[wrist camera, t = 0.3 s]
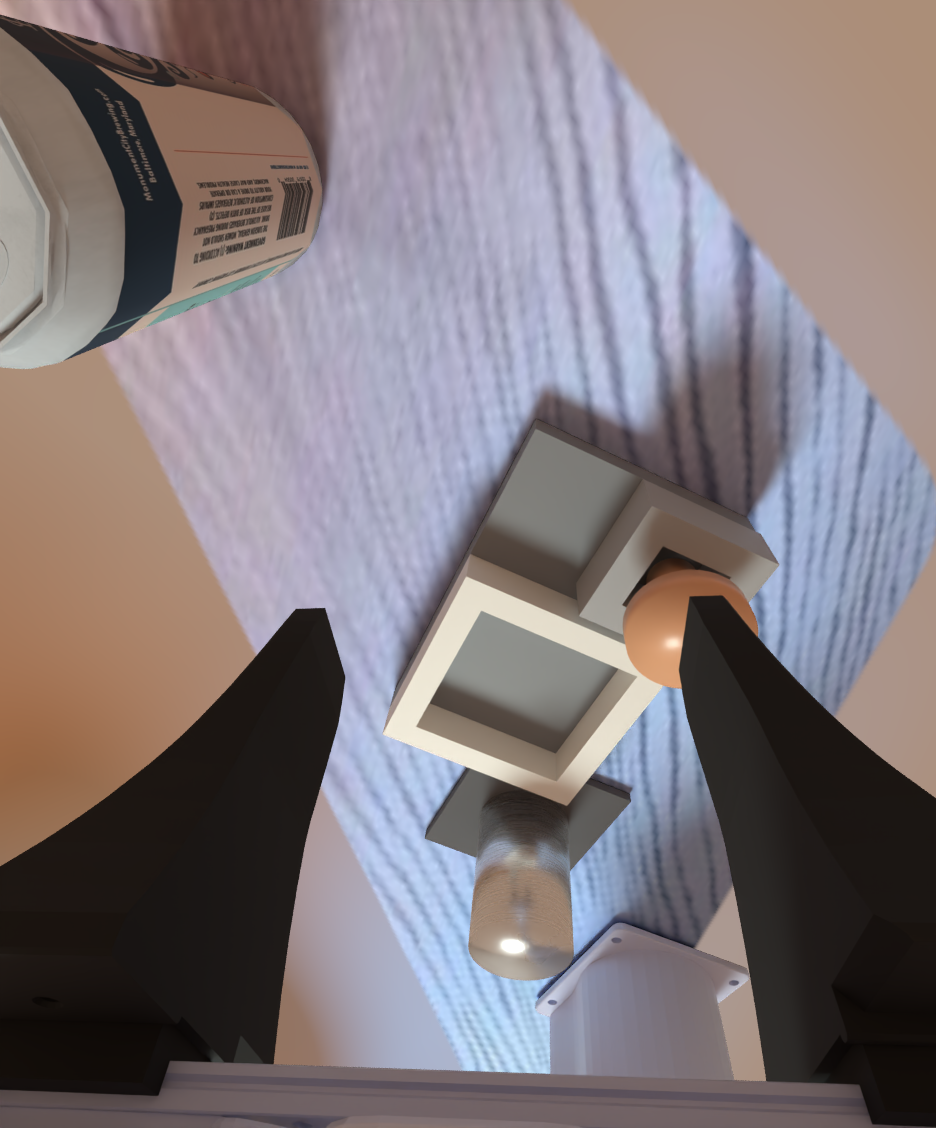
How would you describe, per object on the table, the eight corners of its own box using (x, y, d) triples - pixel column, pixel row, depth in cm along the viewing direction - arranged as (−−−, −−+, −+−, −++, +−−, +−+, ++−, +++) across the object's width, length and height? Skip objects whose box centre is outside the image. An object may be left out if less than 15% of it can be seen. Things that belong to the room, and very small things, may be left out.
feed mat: (555, 879, 34) (556, 886, 33) (425, 831, 33) (424, 838, 32) (629, 794, 30) (630, 801, 30) (487, 737, 29) (486, 744, 29)
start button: (688, 640, 23) (708, 705, 20) (594, 599, 22) (601, 659, 20) (753, 558, 21) (786, 616, 18) (653, 511, 21) (670, 564, 18)
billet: (542, 859, 32) (543, 991, 27) (466, 830, 32) (452, 959, 27) (583, 809, 30) (592, 941, 25) (503, 778, 30) (495, 906, 25)
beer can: (248, 39, 18) (-167, -146, 7) (361, 211, 19) (158, 261, 9) (127, 159, 19) (-351, 148, 9) (242, 308, 21) (-45, 443, 11)
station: (569, 760, 29) (572, 817, 27) (394, 691, 28) (379, 743, 26) (752, 520, 23) (779, 564, 20) (535, 418, 22) (535, 452, 19)
